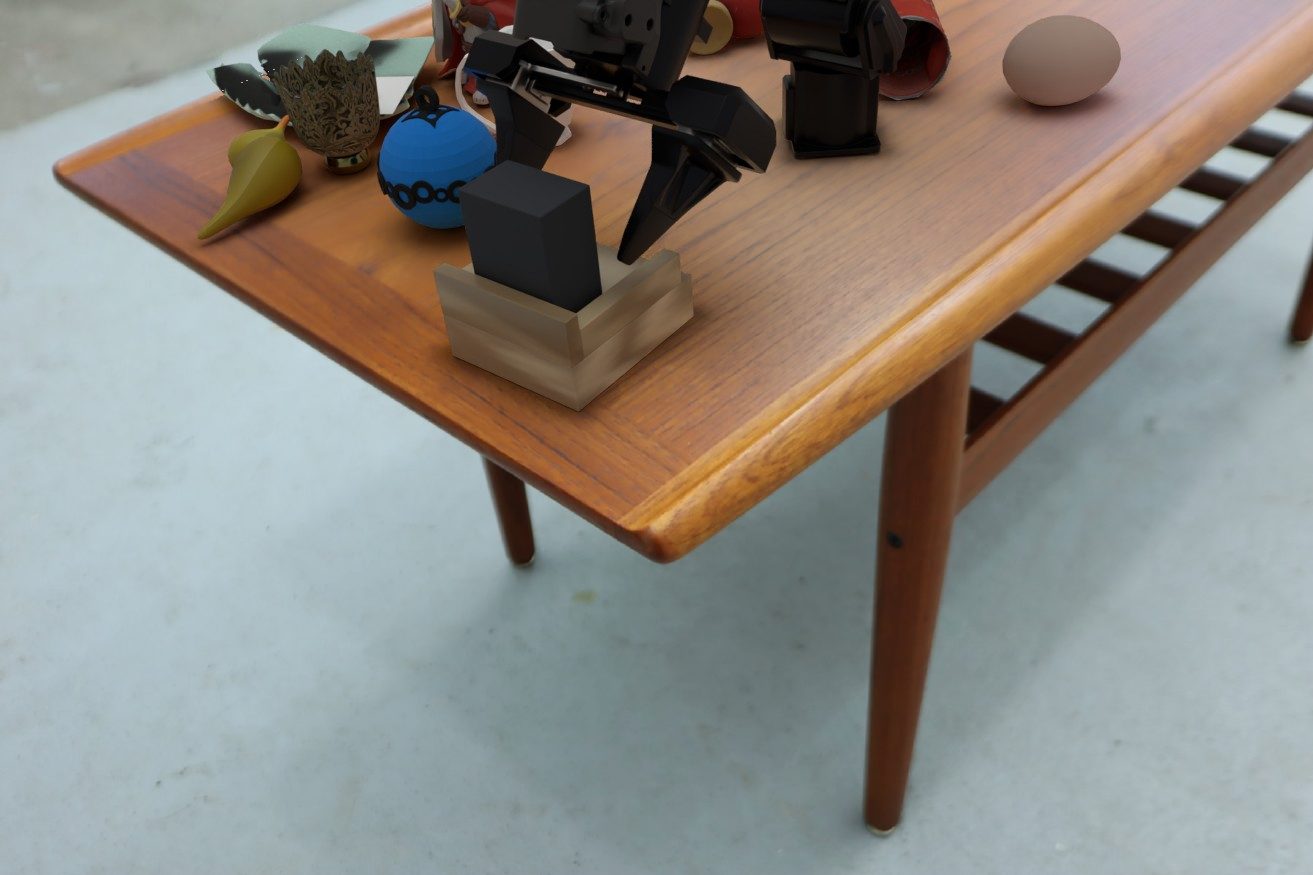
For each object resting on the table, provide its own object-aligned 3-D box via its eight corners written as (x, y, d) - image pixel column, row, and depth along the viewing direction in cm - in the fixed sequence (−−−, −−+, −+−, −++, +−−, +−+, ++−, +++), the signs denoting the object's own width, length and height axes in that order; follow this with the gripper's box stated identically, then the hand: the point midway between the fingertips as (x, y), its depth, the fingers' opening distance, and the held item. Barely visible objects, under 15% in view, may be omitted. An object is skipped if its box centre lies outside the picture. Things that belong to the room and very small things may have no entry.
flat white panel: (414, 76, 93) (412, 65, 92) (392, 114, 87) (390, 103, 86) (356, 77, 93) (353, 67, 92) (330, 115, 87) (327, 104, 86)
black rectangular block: (528, 281, 66) (507, 158, 60) (605, 311, 63) (590, 184, 58) (482, 313, 63) (456, 189, 58) (559, 345, 60) (539, 217, 55)
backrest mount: (570, 271, 72) (559, 188, 68) (694, 316, 67) (689, 230, 63) (452, 355, 66) (432, 270, 62) (578, 412, 61) (565, 322, 57)
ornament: (535, 204, 79) (513, 69, 73) (467, 262, 74) (437, 122, 67) (439, 185, 83) (410, 54, 76) (367, 239, 77) (330, 104, 70)
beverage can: (928, 43, 97) (936, -35, 93) (947, 99, 88) (956, 16, 84) (847, 46, 98) (850, -31, 93) (856, 103, 89) (861, 20, 84)
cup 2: (581, 156, 85) (569, 53, 79) (456, 159, 86) (435, 58, 81) (593, 116, 90) (582, 18, 85) (475, 120, 91) (456, 23, 86)
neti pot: (319, 81, 83) (257, 96, 86) (219, 208, 74) (154, 219, 77) (351, 129, 86) (290, 141, 89) (258, 256, 77) (194, 265, 80)
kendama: (598, 91, 97) (792, 35, 97) (579, 18, 94) (780, -40, 94) (589, 74, 104) (771, 21, 104) (571, 5, 100) (758, -49, 101)
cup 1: (415, 152, 87) (393, 53, 82) (360, 195, 82) (332, 92, 77) (340, 140, 90) (314, 44, 85) (282, 180, 85) (250, 81, 80)
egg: (1019, 116, 82) (1132, 109, 83) (1030, 22, 79) (1148, 16, 80) (982, 101, 88) (1089, 95, 89) (992, 13, 85) (1102, 8, 86)
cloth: (422, 114, 88) (428, 141, 89) (440, 9, 104) (445, 34, 106) (168, 138, 88) (179, 165, 89) (226, 29, 104) (234, 53, 105)
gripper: (453, -121, 59) (349, 152, 60) (742, -80, 49) (614, 242, 50) (567, -17, 68) (476, 217, 69) (827, 33, 59) (718, 302, 60)
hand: (560, 241), depth 62 cm, fingers open, 9 cm apart
